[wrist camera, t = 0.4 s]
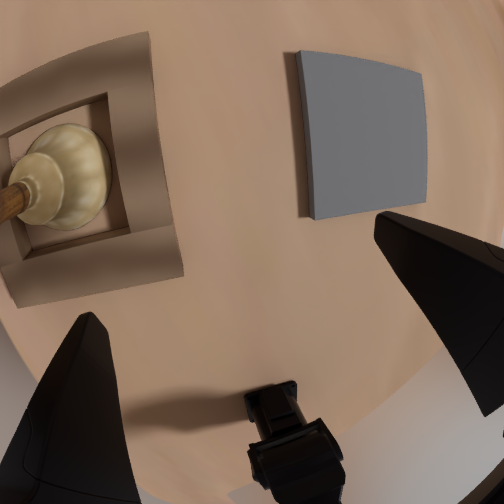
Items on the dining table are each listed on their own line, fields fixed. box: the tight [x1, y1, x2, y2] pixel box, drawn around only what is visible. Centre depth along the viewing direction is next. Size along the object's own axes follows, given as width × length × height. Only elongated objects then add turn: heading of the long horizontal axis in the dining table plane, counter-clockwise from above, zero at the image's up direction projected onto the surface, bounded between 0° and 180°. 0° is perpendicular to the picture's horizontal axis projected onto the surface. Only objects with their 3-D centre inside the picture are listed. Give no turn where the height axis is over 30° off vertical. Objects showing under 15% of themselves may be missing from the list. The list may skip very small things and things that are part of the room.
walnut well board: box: [0, 31, 184, 308], centre depth 16 cm, size 18×16×2 cm
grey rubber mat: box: [295, 50, 427, 220], centre depth 21 cm, size 14×14×1 cm
